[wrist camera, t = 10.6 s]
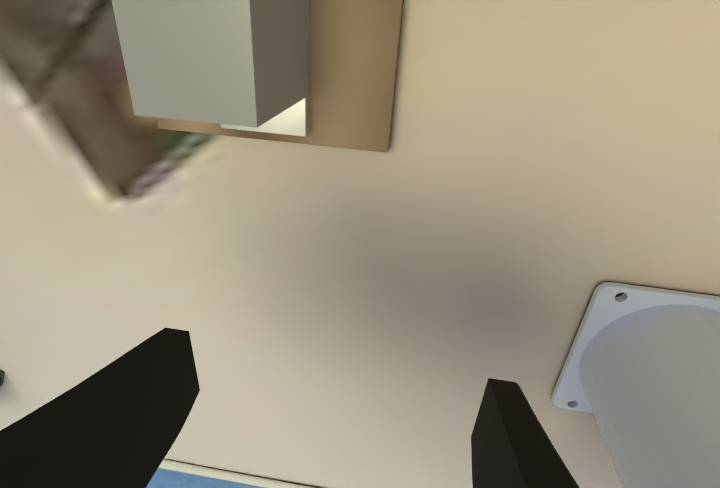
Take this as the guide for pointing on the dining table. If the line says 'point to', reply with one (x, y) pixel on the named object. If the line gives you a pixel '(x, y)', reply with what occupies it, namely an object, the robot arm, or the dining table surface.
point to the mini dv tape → (1, 377)
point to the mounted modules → (213, 58)
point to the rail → (298, 114)
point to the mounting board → (341, 77)
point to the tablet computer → (208, 478)
